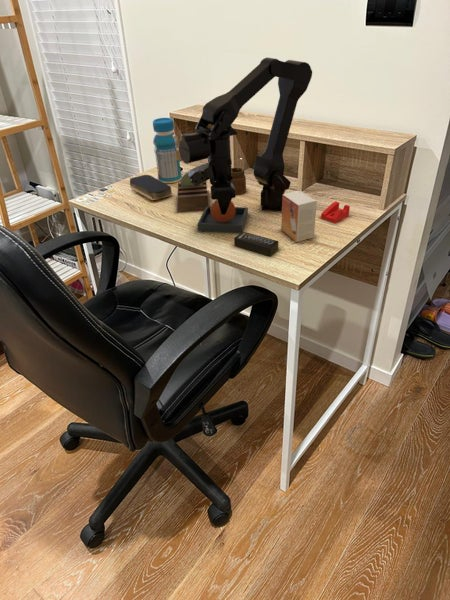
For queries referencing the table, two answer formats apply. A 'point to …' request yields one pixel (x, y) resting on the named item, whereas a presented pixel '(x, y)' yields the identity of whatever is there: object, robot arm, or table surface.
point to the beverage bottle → (166, 151)
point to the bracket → (335, 212)
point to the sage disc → (187, 180)
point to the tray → (231, 226)
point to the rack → (192, 198)
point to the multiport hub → (256, 243)
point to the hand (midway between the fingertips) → (223, 210)
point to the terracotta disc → (217, 212)
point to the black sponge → (150, 187)
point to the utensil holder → (239, 179)
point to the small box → (298, 215)
